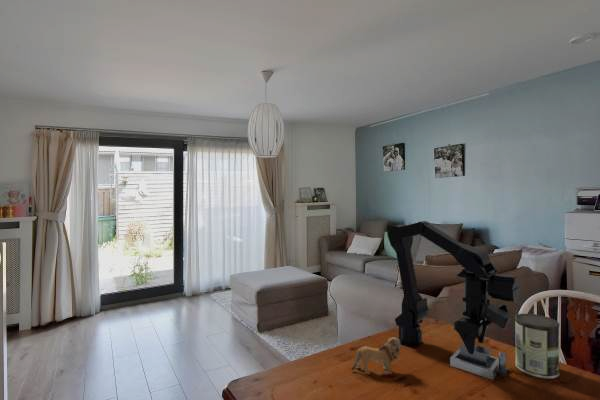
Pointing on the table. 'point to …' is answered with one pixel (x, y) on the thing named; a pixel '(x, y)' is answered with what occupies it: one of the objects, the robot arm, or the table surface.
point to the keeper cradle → (489, 373)
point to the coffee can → (537, 345)
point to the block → (476, 355)
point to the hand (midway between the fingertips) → (476, 348)
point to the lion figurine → (379, 354)
